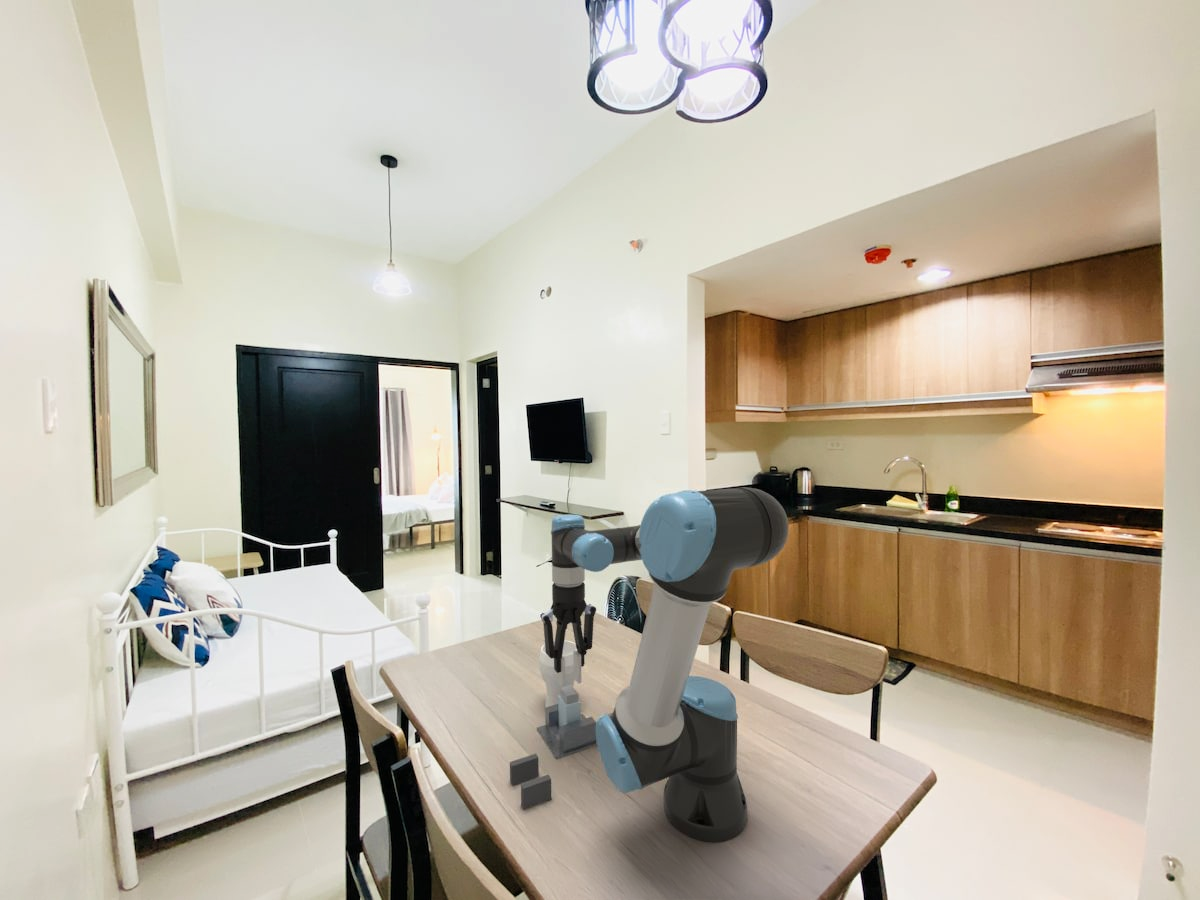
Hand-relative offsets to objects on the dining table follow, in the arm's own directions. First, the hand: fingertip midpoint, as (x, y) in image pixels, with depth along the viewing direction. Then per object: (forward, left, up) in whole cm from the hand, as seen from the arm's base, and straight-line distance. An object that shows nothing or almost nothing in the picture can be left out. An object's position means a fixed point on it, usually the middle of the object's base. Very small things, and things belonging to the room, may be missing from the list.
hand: (569, 682), depth 111 cm
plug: (0, 0, -12) cm, 12 cm away
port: (0, 0, -13) cm, 13 cm away
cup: (+13, -3, -13) cm, 18 cm away
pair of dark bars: (-12, +14, -13) cm, 22 cm away
